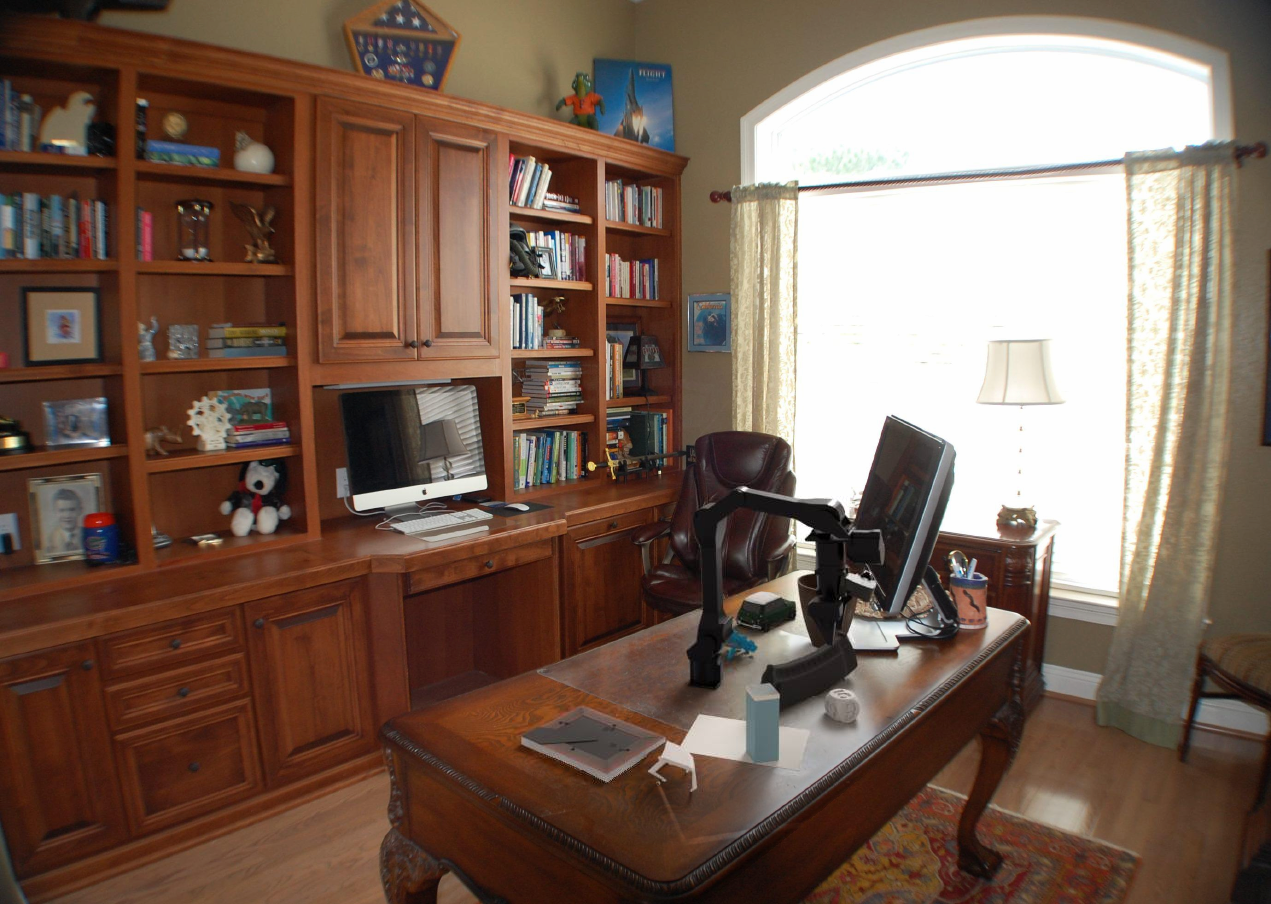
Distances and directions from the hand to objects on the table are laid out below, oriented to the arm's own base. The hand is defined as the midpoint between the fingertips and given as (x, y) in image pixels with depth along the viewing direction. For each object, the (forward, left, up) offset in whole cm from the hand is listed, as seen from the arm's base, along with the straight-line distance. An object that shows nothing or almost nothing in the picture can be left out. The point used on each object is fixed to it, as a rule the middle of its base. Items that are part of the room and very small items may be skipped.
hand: (834, 637), depth 164 cm
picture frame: (-41, -30, -15) cm, 53 cm away
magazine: (-5, +3, -15) cm, 16 cm away
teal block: (-10, -26, -14) cm, 31 cm away
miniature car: (-22, +44, -15) cm, 51 cm away
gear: (-25, +20, -15) cm, 35 cm away
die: (+2, -5, -15) cm, 16 cm away
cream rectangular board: (-14, -21, -14) cm, 29 cm away
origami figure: (-22, -38, -15) cm, 47 cm away
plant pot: (-5, +33, -15) cm, 36 cm away
